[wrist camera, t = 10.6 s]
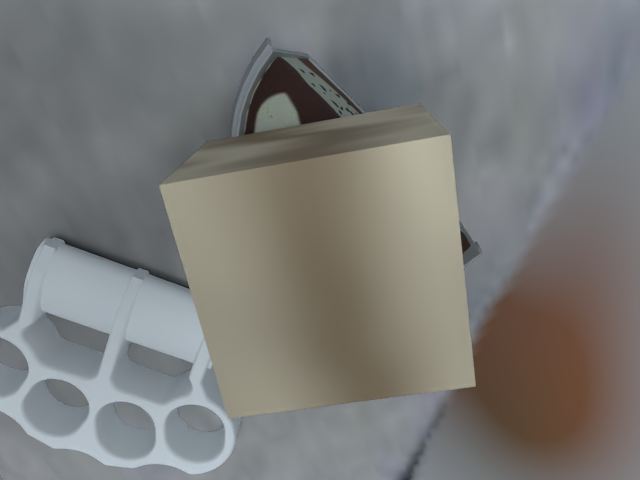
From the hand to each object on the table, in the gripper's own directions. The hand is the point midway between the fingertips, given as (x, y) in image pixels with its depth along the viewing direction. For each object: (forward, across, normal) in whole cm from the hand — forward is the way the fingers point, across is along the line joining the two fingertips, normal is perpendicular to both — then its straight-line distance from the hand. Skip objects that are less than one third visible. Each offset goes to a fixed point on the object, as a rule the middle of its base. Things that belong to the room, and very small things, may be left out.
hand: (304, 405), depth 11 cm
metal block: (+12, 0, -1) cm, 12 cm away
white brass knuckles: (+23, -16, -12) cm, 30 cm away
